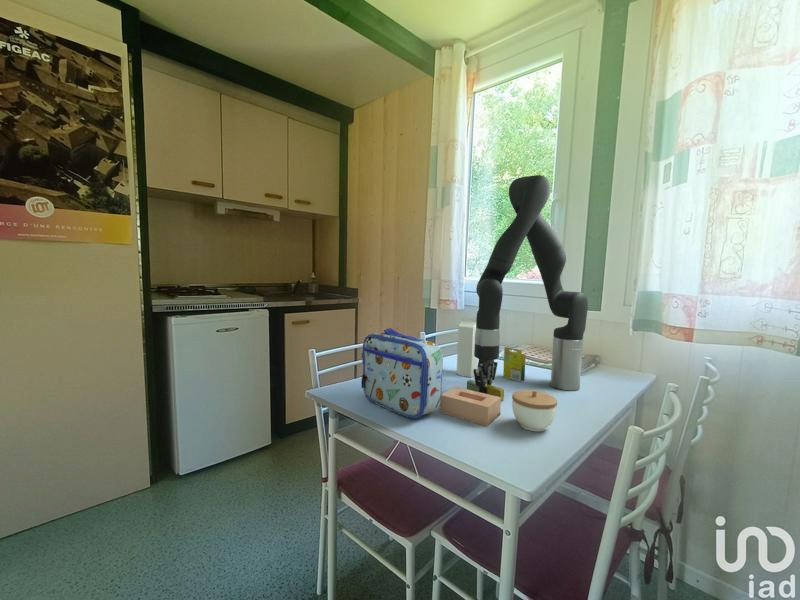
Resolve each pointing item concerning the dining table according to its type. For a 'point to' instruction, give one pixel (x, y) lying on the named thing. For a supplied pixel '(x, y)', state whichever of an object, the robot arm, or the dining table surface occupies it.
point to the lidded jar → (534, 409)
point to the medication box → (490, 389)
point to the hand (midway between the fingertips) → (484, 396)
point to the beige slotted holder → (470, 405)
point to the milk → (466, 347)
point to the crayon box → (514, 364)
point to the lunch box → (402, 373)
